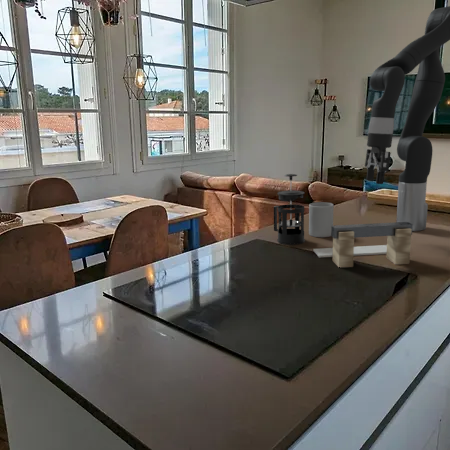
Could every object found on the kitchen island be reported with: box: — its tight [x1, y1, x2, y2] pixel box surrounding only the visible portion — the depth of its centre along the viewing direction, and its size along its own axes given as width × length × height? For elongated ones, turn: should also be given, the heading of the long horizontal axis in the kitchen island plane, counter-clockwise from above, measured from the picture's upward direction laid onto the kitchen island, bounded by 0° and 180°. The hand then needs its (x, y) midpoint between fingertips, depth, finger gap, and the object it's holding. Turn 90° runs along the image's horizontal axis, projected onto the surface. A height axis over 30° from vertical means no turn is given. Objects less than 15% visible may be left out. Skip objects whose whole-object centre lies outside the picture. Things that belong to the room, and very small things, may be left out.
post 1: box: [332, 231, 355, 268], centre depth 120 cm, size 4×6×10 cm, turn 3°
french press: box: [273, 173, 306, 246], centre depth 143 cm, size 12×9×23 cm
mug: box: [308, 201, 335, 238], centre depth 153 cm, size 12×8×11 cm
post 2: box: [385, 228, 412, 265], centre depth 120 cm, size 4×6×10 cm, turn 3°
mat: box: [312, 244, 387, 258], centre depth 131 cm, size 26×7×1 cm, turn 93°
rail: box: [330, 222, 413, 239], centre depth 119 cm, size 22×3×3 cm, turn 93°
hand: (374, 182), depth 141 cm, fingers open, 8 cm apart
